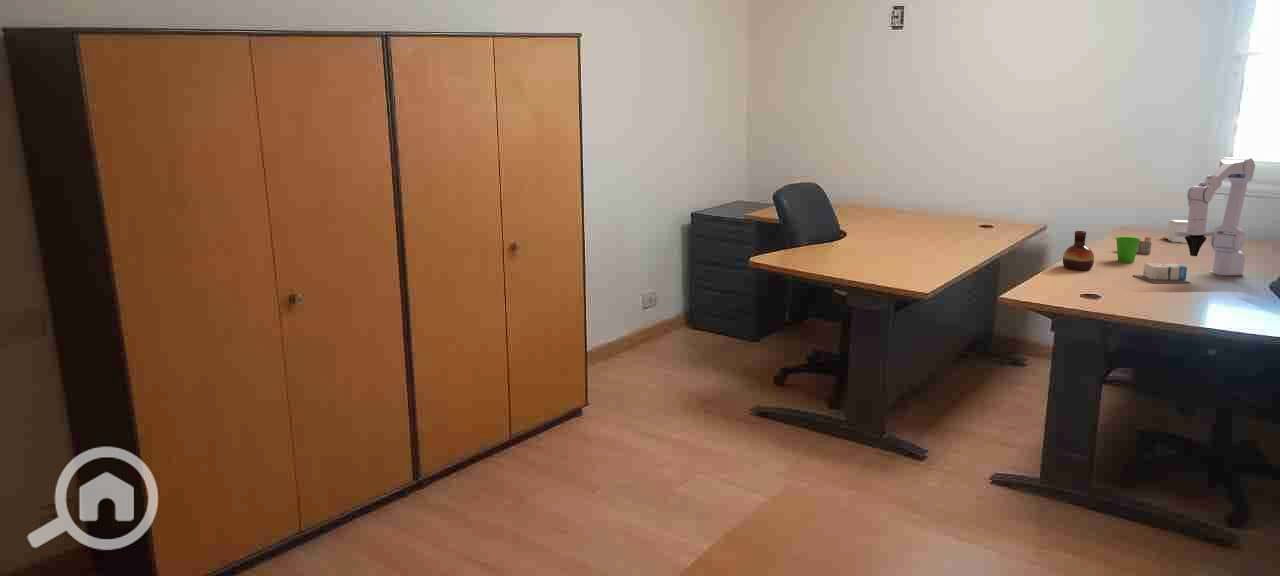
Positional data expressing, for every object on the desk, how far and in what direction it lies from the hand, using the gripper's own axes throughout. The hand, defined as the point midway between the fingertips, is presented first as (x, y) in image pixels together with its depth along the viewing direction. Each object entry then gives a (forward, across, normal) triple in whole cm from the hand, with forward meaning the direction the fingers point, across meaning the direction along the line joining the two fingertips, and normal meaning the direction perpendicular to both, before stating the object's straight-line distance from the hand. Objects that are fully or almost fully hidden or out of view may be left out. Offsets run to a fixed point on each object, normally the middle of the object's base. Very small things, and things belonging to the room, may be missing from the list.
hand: (1193, 255), depth 334 cm
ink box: (+6, +4, 0) cm, 7 cm away
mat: (+9, +11, 0) cm, 14 cm away
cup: (+9, +7, -32) cm, 34 cm away
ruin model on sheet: (+10, -6, -49) cm, 51 cm away
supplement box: (+9, -39, -73) cm, 83 cm away
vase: (+9, +32, -21) cm, 39 cm away
